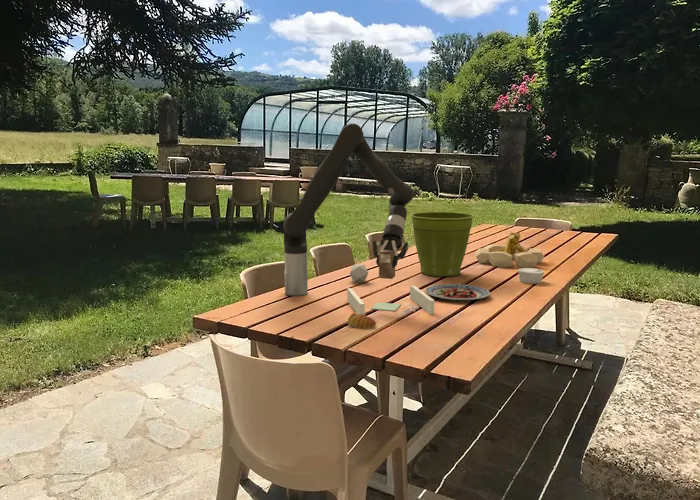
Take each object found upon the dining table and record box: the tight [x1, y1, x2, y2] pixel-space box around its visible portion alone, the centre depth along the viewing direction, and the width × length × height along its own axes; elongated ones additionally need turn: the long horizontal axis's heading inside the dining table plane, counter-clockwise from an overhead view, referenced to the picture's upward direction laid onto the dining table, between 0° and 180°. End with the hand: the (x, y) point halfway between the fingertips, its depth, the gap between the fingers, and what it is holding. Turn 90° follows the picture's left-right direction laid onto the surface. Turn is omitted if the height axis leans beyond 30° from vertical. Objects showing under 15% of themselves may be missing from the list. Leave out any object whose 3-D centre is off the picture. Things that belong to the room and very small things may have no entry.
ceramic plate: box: [425, 283, 491, 302], centre depth 221 cm, size 26×26×3 cm
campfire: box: [474, 232, 545, 269], centre depth 294 cm, size 35×34×17 cm
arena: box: [346, 285, 436, 315], centre depth 204 cm, size 27×24×5 cm
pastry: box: [347, 312, 377, 330], centre depth 181 cm, size 9×7×4 cm
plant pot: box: [410, 211, 474, 277], centre depth 264 cm, size 30×30×29 cm
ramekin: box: [517, 267, 545, 285], centre depth 248 cm, size 11×11×5 cm
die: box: [349, 264, 369, 283], centre depth 247 cm, size 8×9×10 cm
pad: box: [371, 302, 402, 312], centre depth 204 cm, size 9×9×1 cm
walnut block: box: [378, 249, 396, 280], centre depth 201 cm, size 5×5×10 cm
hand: (385, 265), depth 200 cm, fingers closed on walnut block, 5 cm apart
